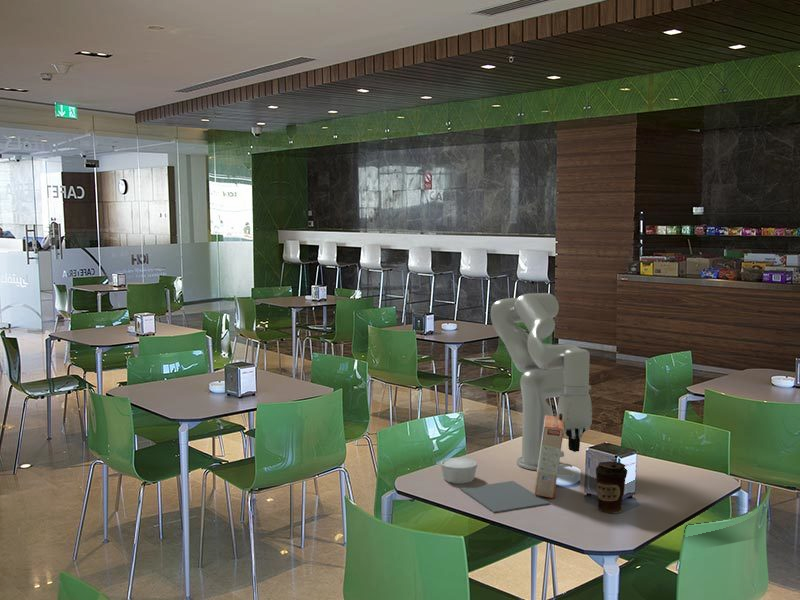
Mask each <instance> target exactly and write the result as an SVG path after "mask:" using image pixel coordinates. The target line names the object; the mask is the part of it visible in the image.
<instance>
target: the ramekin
mask: <svg viewBox="0 0 800 600" xmlns="http://www.w3.org/2000/svg"><path fill="white" fill-rule="evenodd" d="M440 467H441V473H442V477H443V479H444V481H446V482H448V483H451V482H452V484H460V483H461V484H467V483H471V482H472V481H473V480H474V479H475V476H476V470H477V468H478V462H477V461H476V460H474V459H471V458H467V457H450V458H445V459H443V460H442V461H440Z"/></svg>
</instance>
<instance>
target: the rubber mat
mask: <svg viewBox="0 0 800 600" xmlns="http://www.w3.org/2000/svg"><path fill="white" fill-rule="evenodd" d="M459 490H460V491H462V492H463V493H464V492H465V493H464V494H466V495H467V496H469V497H470V498H472V499H473V500H475V502H477V503H479V504H480V505H481V506H483V507H485V508H486V509H487V510H489V511H490V512H492V513H493V514H496V513H497V514H498V513H503V511H504V512H509V511H514V510H522V509H529V508H534V507H535V508H536V507H540V506H546V505H547V504H548V505H551V504H550V503H551V502H549V501H547V500H546V499H544V498H543V497H542V496H537V495H535V492H532V491H531V490H529V489H528V488H526V487H524V486H523V485H521V484H519V483H518V482H516V481H514V480H511V481H504V482H496V483H489V484H488V483H487V484H481V485H475V486H467V487H460V489H459Z"/></svg>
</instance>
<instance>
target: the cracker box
mask: <svg viewBox="0 0 800 600" xmlns="http://www.w3.org/2000/svg"><path fill="white" fill-rule="evenodd" d="M556 417H557V416H553V415H552V416H548V415H545V418H544V425H543V432H542V439H541V446H540V454H539V461H538V468H537V470H536V476H535V484H534V485H535V486H534V487H535V490H534V494H535V495H537V496H539V497H542V498H543V497H545V498H549V499H554V498H555V494H556V485H557V479H558V472H559V471H558V470H559V466H560V465H559V464H560V459H561V457H560V453H561V451H562V446H563V445H562V444H563V439H564V433H563V432H564V423H563V422H562V420H559V419H557V418H556Z"/></svg>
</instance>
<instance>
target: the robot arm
mask: <svg viewBox="0 0 800 600" xmlns="http://www.w3.org/2000/svg"><path fill="white" fill-rule="evenodd" d="M559 309H560V305H559V301H558V300H557V298H556V296H555V295H553V294H551V293H548V292H540V293H539V292H538V293H534V292H533V293H524V294H521V295H520V296H518V297H511V298H510V297H509V298H502V299H501V298H500V299H499V300H496V301H494V302H493V304H492V305H491V307H490V319H491V323H492V324H491V325H492V328H493V329H494V331H495V332H496V334H497V336H498V337H499V339H500V340H501V341H502V342H503V343H504V346H505V348H506V351H507V352H508V354H509V357H510V358H511V360H512V363H513V364H514V366H515V368H516V369H517V371H519V372H520V373H523V374H522V375H521V377H520V379H519V380H520V382H519V383H520V384H519V385H520V393H521V397H522V398H521V399H522V439H521V440H522V441H521V456H520V457H518V458H517V459H516V464H517V466H519V467H521V468H523V469H527V470H530V471H531V470H532V471H533V470H534V471H537V468H538V461H539V454H540V446H541V439H542V432H543V425H544V418H545V415H548V416H553V410H552V408H551V406H550V405H549V403H548V402H547V399H550V398H551V399H552V398H558V402H557V407H556V416H555V417H556V418H557V419H559V420H562V422H563V423H564V432H563V434H565V435H566V437H567V438H568V442H567V443H568V445H567V447H568V450H569V451H571V452H573V453H577V452H580V447H581V438H582V437H583V434H584V433H585V432H587V431H589V430H591V425H592V421H593V407H592V406H593V405H592V398H591V395H590V394H589V392H590V391H589V390H592V385H591V384H590V363H591V362H590V357H591V356H590V355H591V354H590V351H588V350H587V349H584V348H581V347H579V346H577V345H575V344H571V343H567V344H566V343H565V344H552V343H543V342H542V341H543V340H545V339H546V338H548V337H550V335H552V333H553V332H554V330H555V328H556V323H555V320H554V318H555V317H556V316H557V315H558V313H559ZM516 323H523V324H524V326H525V328H526V329H527V331H528V332H529V334H528V333H527V332H526V330H525V329H523V327H521V326H519V325H517V324H516ZM563 457H565V452H564V450H561V453H560V458H563Z"/></svg>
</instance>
